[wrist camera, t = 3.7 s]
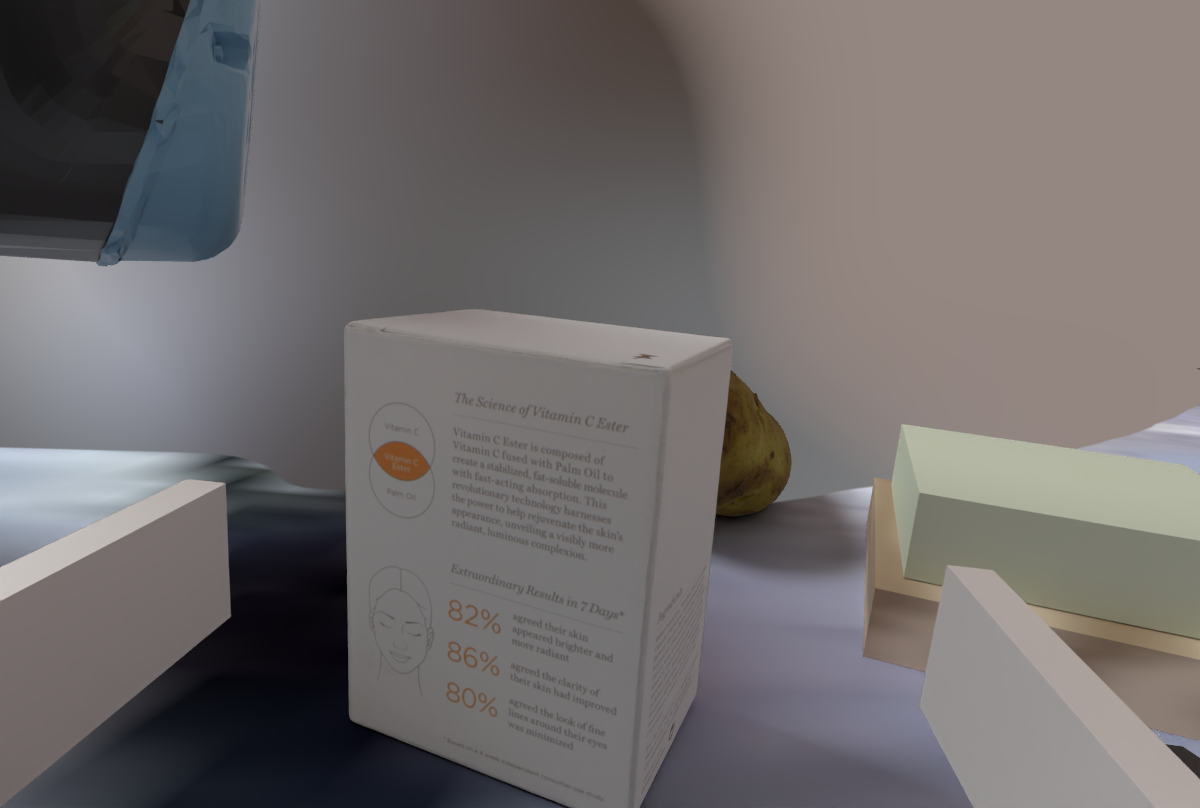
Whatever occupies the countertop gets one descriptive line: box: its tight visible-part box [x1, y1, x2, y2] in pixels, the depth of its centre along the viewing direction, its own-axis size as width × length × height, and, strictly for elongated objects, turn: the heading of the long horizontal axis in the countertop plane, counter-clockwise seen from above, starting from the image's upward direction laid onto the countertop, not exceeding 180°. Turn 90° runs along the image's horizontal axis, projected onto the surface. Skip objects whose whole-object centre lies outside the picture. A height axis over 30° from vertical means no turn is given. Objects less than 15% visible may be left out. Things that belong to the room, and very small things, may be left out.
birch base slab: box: [863, 478, 1200, 741], centre depth 27 cm, size 13×13×3 cm
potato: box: [716, 370, 791, 516], centre depth 35 cm, size 8×13×8 cm, turn 128°
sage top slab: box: [891, 424, 1200, 639], centre depth 27 cm, size 11×11×3 cm
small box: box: [344, 309, 732, 808], centre depth 18 cm, size 8×6×10 cm
